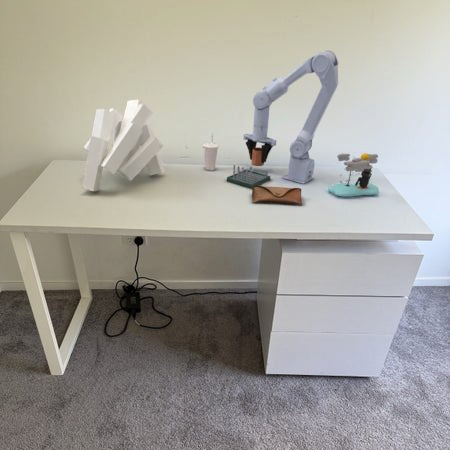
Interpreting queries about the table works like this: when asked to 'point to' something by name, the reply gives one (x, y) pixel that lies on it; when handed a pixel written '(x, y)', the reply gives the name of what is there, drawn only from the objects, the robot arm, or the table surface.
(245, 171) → the rack
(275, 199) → the sunglasses case
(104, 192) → the table surface
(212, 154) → the smoothie
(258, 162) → the cup
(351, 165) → the penguin figurine
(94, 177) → the pile of blocks
